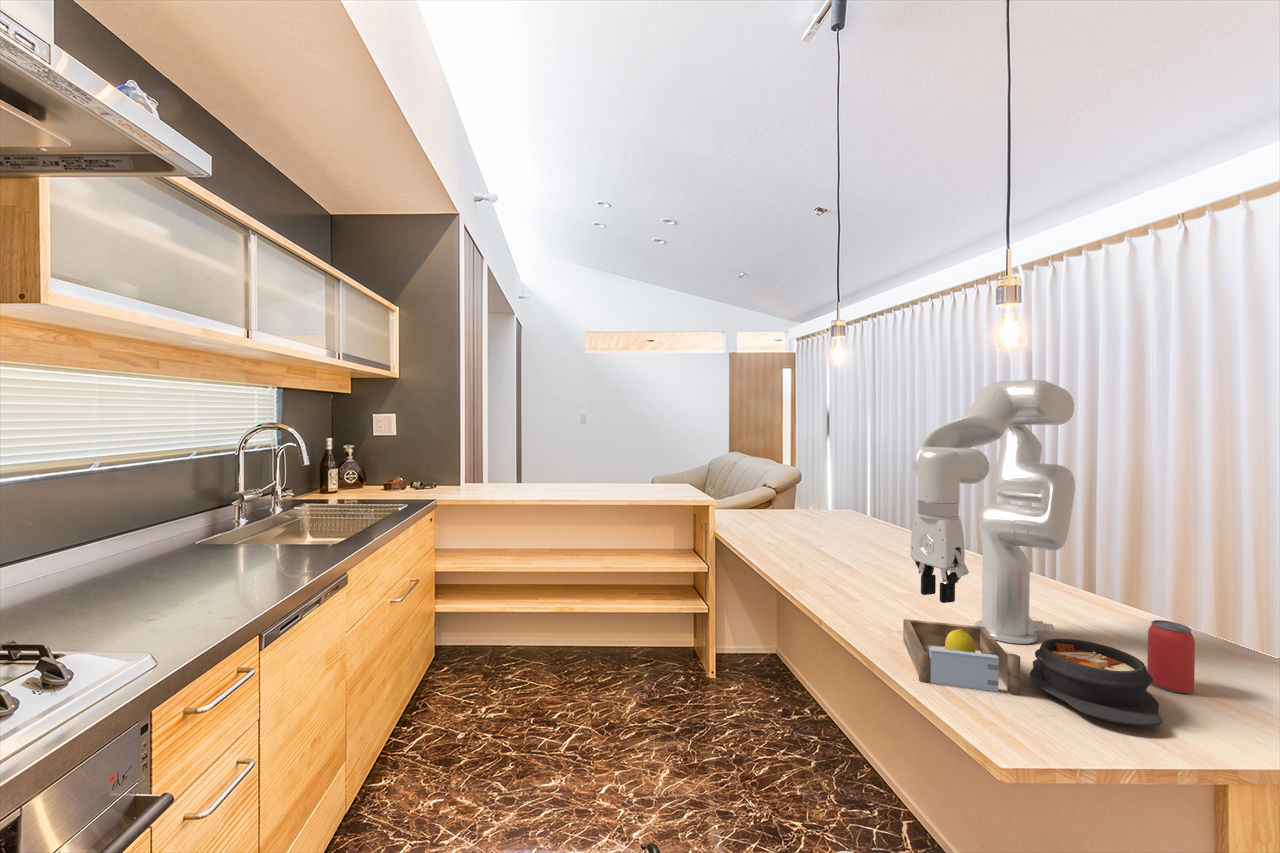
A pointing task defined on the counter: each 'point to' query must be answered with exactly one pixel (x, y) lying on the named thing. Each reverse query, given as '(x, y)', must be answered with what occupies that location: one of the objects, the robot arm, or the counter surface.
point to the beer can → (1171, 656)
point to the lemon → (959, 641)
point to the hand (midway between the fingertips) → (937, 597)
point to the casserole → (1096, 681)
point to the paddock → (936, 636)
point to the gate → (964, 669)
